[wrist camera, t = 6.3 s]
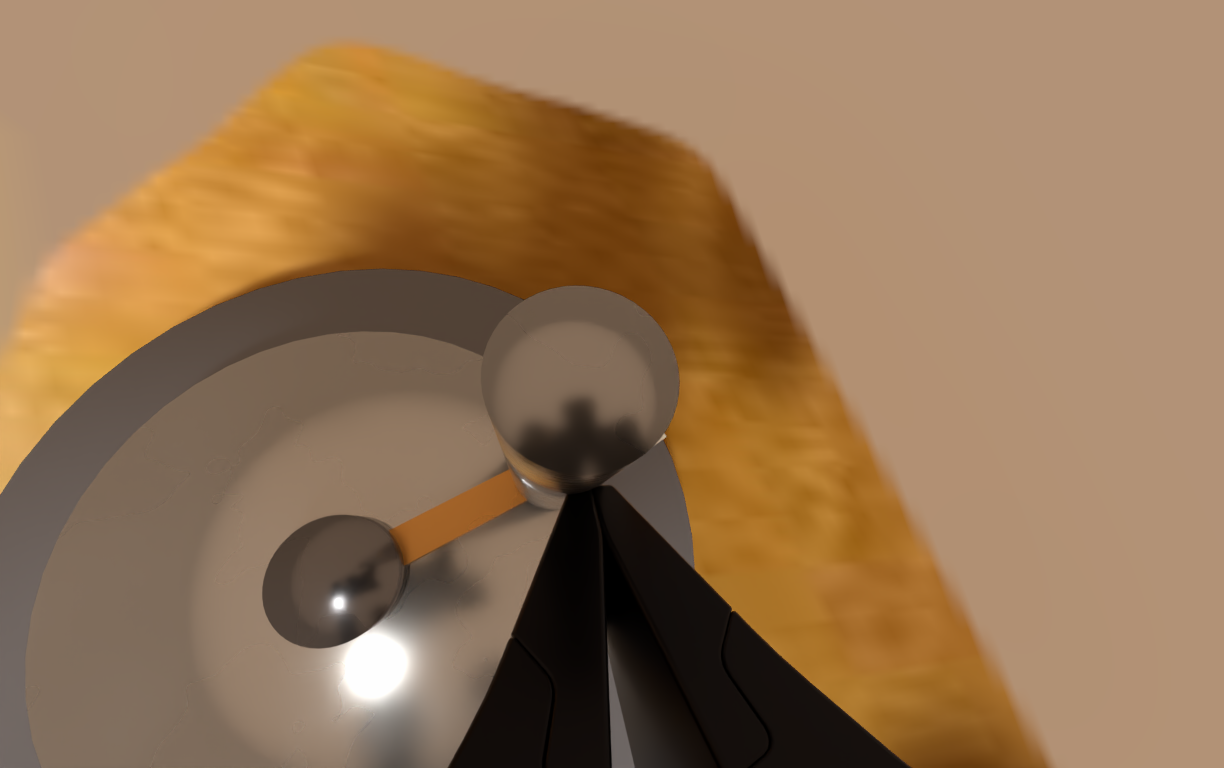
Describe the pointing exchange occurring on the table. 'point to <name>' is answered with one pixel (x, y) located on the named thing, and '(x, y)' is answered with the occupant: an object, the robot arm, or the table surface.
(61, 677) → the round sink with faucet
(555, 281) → the table surface
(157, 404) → the dial base
